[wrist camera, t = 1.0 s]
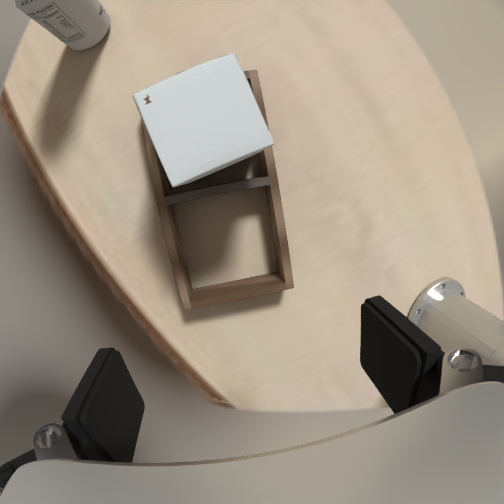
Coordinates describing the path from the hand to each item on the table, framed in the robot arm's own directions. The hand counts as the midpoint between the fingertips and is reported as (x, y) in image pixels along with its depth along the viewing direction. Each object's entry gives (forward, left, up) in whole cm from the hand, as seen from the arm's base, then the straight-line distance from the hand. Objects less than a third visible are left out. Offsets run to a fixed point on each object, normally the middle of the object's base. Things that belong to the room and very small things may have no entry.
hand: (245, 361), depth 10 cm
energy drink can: (+29, +12, -22) cm, 38 cm away
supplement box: (+11, 0, -23) cm, 25 cm away
